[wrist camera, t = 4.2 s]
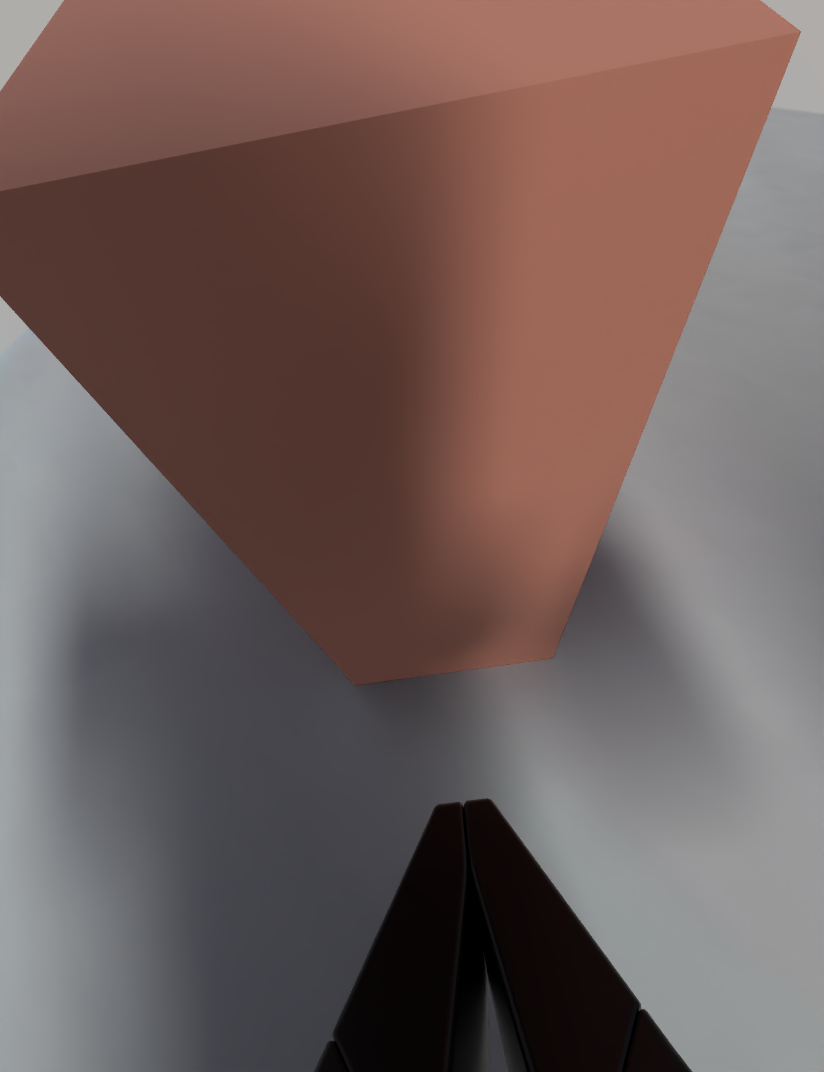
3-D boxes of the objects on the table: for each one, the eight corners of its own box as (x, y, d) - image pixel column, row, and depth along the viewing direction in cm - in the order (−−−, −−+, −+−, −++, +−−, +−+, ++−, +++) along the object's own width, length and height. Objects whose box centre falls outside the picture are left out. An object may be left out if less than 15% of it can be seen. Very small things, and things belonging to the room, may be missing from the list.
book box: (552, 658, 15) (800, 31, 3) (355, 685, 16) (-81, 207, 4) (475, 343, 22) (463, -225, 10) (340, 366, 23) (174, -158, 11)
